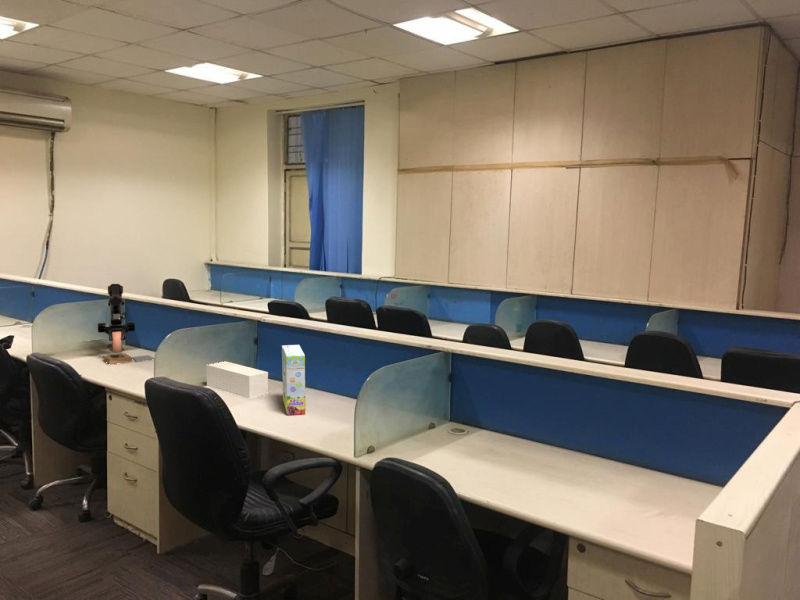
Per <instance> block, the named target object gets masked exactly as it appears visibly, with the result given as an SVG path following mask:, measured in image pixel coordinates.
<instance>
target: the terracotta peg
mask: <svg viewBox="0 0 800 600" xmlns="http://www.w3.org/2000/svg"><path fill="white" fill-rule="evenodd" d="M112 343H113V351H112V353H115V354H120V353H122V352H123V350H122V348H123V342H122V343H121V332H119V331H116V332H112V341H111V344H112Z"/></svg>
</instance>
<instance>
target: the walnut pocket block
mask: <svg viewBox="0 0 800 600" xmlns="http://www.w3.org/2000/svg"><path fill="white" fill-rule="evenodd" d="M102 356H103V357H102V359H103V362H104V361H105V362H104V363H106V362H107V363H108V365H109V364H114V365H118V364H117V363H123V364H127V363H126V362H131V363H132V362H133V360H132V357H133V356H130V355H128V353H126V352H125V353H115V354H108V355H102ZM107 363H106V364H107Z"/></svg>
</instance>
